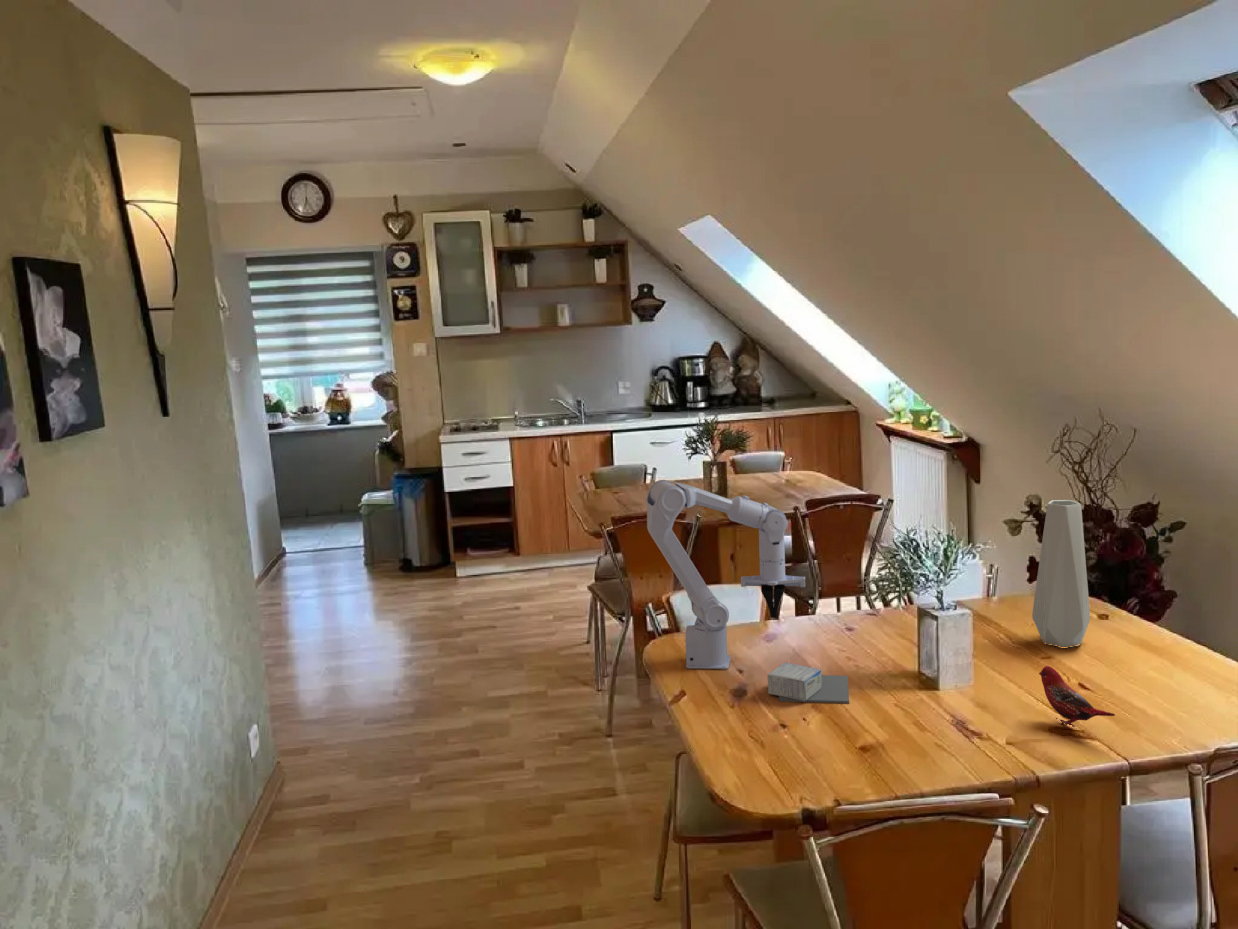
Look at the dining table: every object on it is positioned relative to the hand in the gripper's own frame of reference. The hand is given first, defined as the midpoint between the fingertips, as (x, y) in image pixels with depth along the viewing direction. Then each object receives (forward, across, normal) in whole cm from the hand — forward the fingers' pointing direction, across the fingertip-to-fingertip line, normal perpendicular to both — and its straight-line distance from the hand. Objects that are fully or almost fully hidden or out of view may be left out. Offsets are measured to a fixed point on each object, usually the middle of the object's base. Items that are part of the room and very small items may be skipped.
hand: (773, 616), depth 222 cm
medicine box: (+7, +1, -21) cm, 22 cm away
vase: (+10, +64, +12) cm, 66 cm away
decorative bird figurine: (+10, +56, -36) cm, 67 cm away
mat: (+9, +9, -20) cm, 24 cm away
